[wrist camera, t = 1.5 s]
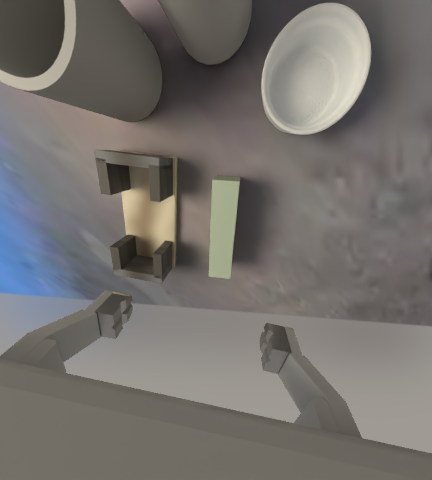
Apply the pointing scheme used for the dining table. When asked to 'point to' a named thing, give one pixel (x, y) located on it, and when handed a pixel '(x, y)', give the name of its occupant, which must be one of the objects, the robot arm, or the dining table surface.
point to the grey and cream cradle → (142, 211)
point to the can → (209, 26)
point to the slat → (223, 225)
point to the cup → (80, 55)
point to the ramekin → (316, 69)
